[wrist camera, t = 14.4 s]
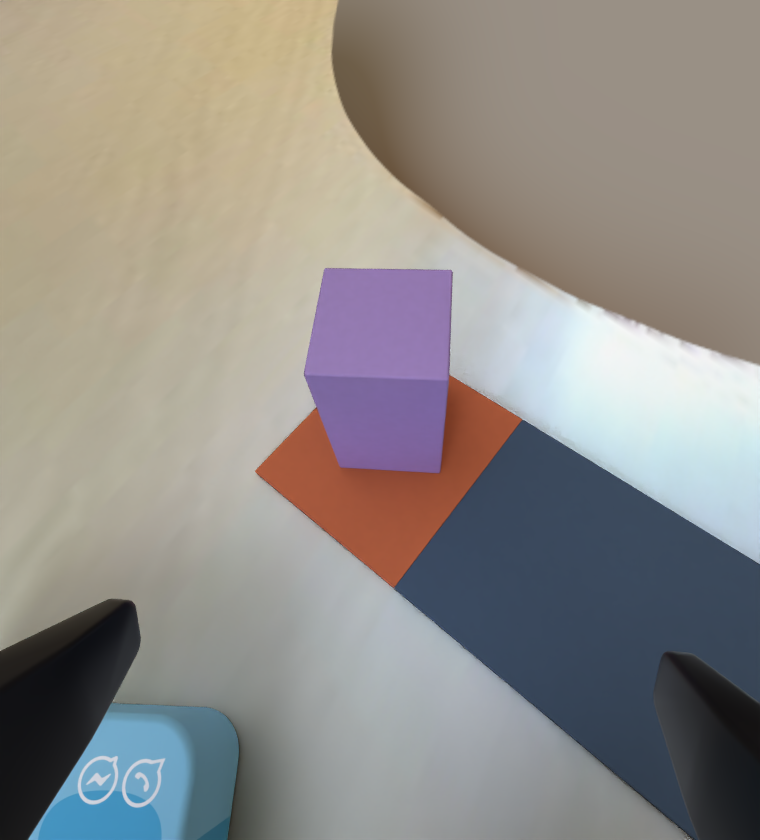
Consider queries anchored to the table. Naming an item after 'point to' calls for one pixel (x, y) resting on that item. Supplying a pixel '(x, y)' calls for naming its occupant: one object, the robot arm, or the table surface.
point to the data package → (149, 778)
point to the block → (382, 366)
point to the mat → (543, 574)
